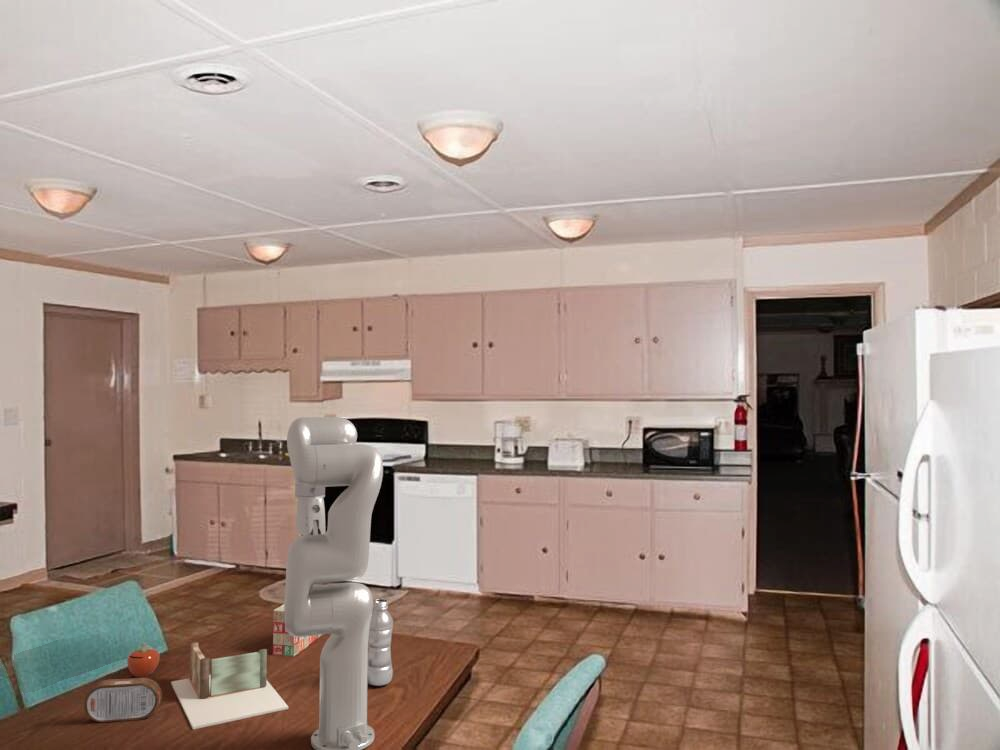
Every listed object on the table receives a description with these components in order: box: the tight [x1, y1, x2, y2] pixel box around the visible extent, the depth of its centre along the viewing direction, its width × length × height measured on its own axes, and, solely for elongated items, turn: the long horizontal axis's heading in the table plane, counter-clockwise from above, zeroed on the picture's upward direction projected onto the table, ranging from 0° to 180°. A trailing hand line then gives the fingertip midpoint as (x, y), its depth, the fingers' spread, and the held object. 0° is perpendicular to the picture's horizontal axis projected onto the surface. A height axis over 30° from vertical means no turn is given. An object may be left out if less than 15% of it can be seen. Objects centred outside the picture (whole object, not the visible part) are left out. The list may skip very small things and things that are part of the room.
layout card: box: [170, 673, 289, 730], centre depth 173 cm, size 29×20×1 cm
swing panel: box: [210, 648, 268, 696], centre depth 175 cm, size 12×2×8 cm, turn 120°
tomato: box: [126, 642, 161, 678], centre depth 186 cm, size 7×7×8 cm
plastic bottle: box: [367, 598, 394, 687], centre depth 181 cm, size 6×7×20 cm
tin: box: [83, 677, 163, 723], centre depth 161 cm, size 15×3×8 cm, turn 102°
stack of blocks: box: [272, 603, 324, 657], centre depth 211 cm, size 21×6×12 cm, turn 169°
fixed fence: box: [189, 641, 211, 699], centre depth 177 cm, size 15×2×9 cm, turn 32°
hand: (309, 562), depth 191 cm, fingers closed
